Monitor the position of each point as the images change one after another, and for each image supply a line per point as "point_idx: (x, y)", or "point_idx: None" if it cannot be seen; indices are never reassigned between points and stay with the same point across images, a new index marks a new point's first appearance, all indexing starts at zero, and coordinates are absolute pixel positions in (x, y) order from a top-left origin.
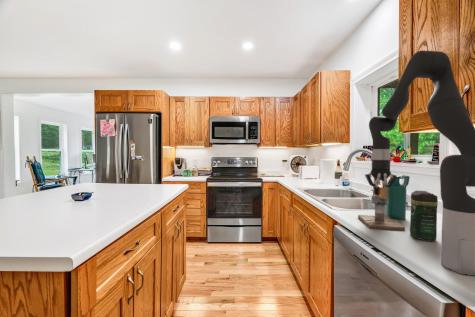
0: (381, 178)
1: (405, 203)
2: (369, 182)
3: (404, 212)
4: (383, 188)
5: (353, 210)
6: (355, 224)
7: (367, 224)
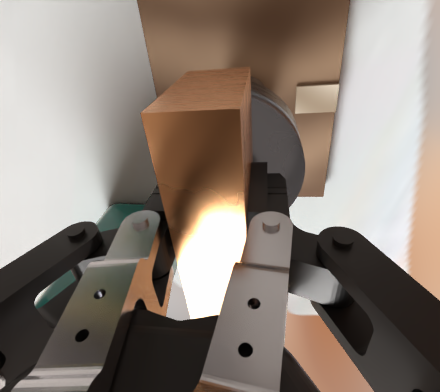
0: (166, 353)
1: None
2: (369, 320)
3: (98, 222)
4: (199, 104)
5: (290, 296)
6: (408, 32)
7: (347, 3)
